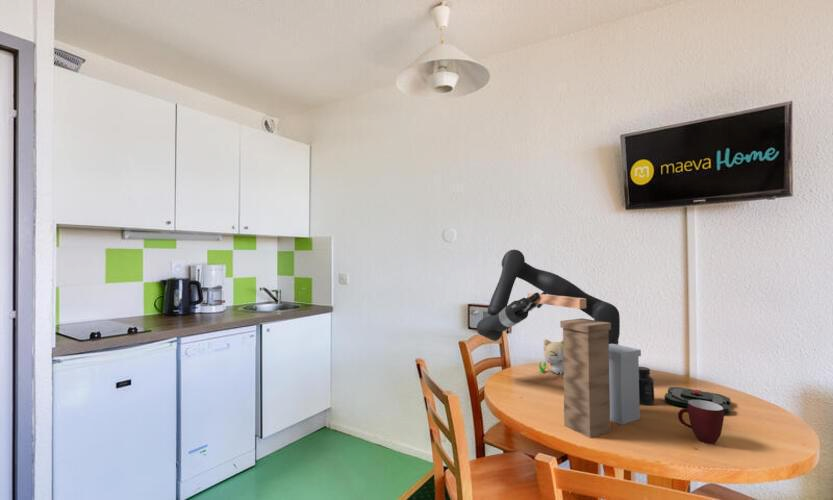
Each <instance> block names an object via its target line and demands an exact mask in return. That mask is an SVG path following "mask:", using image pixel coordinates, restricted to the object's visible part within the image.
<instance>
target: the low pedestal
mask: <svg viewBox="0 0 833 500" xmlns="http://www.w3.org/2000/svg"><path fill="white" fill-rule="evenodd" d="M641 356H642V350H641V349H639V348H636V347H635V348H634V347H630V346H625V345H620V344H618V345H616V344H609V390H610V422H611V421H612V422H614V423H616V424H618V425H621V426H622V425H626V424H629V423H632V422H635V421H637V420H640V418H641V417H640V404H639V357H641Z"/></svg>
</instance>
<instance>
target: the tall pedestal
mask: <svg viewBox="0 0 833 500" xmlns="http://www.w3.org/2000/svg"><path fill="white" fill-rule="evenodd" d="M559 326H560V328H562V340H563V368H564V372H563V412H564V413H563V415H564V416H563V420H564V421H563V422H564V423H563V424H564V427H567V428H569V429H570V430H573V431H575V432H577V433H579V434H581V435H583V436H585V437H588V438H589V439H590V438H593V437H596V436H599V435H603V434H605V433H608V432H610V431H611V420H610V390H609V336H608V330H611V323H608V322H602V321H595V320H594V319H588V318H575V319H573V318H572V319H566V320H564V319H563V320H560V323H559Z"/></svg>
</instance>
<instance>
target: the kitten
mask: <svg viewBox="0 0 833 500" xmlns="http://www.w3.org/2000/svg"><path fill="white" fill-rule="evenodd" d="M543 356H544V360H545V361H544V363H543V364H542V361H540V362H539V364H538V367H539V373H541V374H545V373H544V372H545V370H546V368H547V364H546V362H547V363H548V364H549V366H548V370H549V371H550V372H551V373H554V374H556V375H558V374H559V375H563V374H564V368H563V339H562V340H560V341H553V342H552V341H550V340H549V339H547V338H544V339H543ZM542 365H543V366H542Z"/></svg>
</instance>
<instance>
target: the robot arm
mask: <svg viewBox="0 0 833 500" xmlns="http://www.w3.org/2000/svg"><path fill="white" fill-rule="evenodd" d="M501 267H502V269H501V273H500V277H499V280H498V283H497V284H496V287H495V289H494V291H493V293H492V296H491V298H490V301H489V304H488V307H487V314H488V315H489V316H486V317H484V318H482V319H480V320H479V322H478V323H477V324H476V331H477V333H478V334H479V335H480V336H482V337H485V338H486V339H489V340H491V341H493V342H496V341H499V339H501V337H502V336H503V333H504V331H506V330H508V329H510V328H511V327H513V326H516V325H517V324H520V323H521V322H522V321H524V320H526V319H527V318H528V317H529V313H530V312H531V311H533V309H534V310H535V309H536V308H537V309H540V308H542V306H543V305H544V304H540V303H533V302H535V301H536V300H538V299H539V298H540V295H539V294H547V295H557V296H566V297H576V298H586V308H584V309H579V310H580V311H581V312H584V313H585V314H586V315H588V316H589V317H591V318H592V320H595V321H602V322H608V323H611V330H608V336H609V344H616V345H619V338H620V334H621V333H620V332H621V331H620V329H621V328H620V327H621V326H620V325H621V324H620V323H621V319H620V318H621V317H620V311H619V310H618V308H617V307H616V305H613V304H612V303H610V302H607V301H605V300H602V299H599V298H597V297H594V296H592V295H590V294H589V293H586V292H585V291H584V290H582V289H581V288H579V286H577V285H575V284H574V283H573V282H571V281H569V280H567V279H566V278H564V277H562V276H561V275H559V274H556V273H553V272H550V271H546V270H543V269H538V268H536V267H535V266H532V265H531V264H528V263H527V262H526V259H525V256H524V254H523V252H522V251H520V250H519V249H511V250H508V251H507V252H505V253H504V254H503V258H502V260H501ZM517 278H518V279H520V280H522V281H525V282H527V283H528V284H529V285H531V286H533V287H535V288H536V289H538V290H540V291H542V292H541V293H539V291H538V292H534V293H535V294H533V295H532V296H530V297H528V296H527V297H522V298H520V299H518V300H513V301H512V302H511V303H509V301H510V298H511V294H512V290H513V288H514V284H515V282H516V279H517Z"/></svg>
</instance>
